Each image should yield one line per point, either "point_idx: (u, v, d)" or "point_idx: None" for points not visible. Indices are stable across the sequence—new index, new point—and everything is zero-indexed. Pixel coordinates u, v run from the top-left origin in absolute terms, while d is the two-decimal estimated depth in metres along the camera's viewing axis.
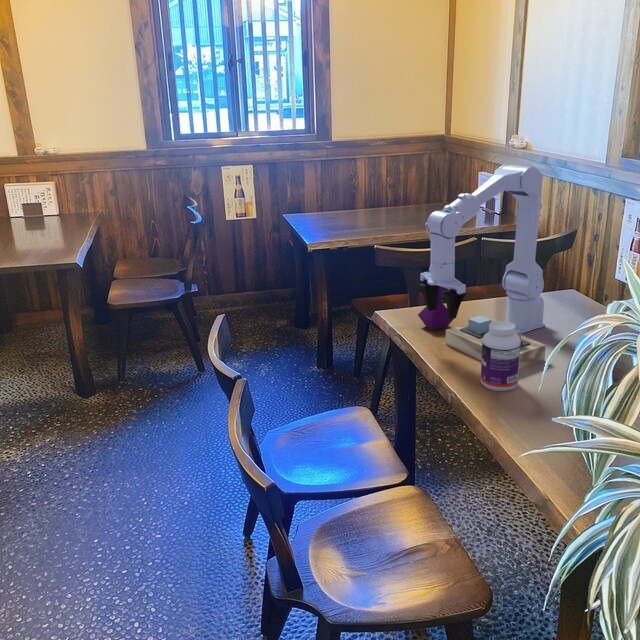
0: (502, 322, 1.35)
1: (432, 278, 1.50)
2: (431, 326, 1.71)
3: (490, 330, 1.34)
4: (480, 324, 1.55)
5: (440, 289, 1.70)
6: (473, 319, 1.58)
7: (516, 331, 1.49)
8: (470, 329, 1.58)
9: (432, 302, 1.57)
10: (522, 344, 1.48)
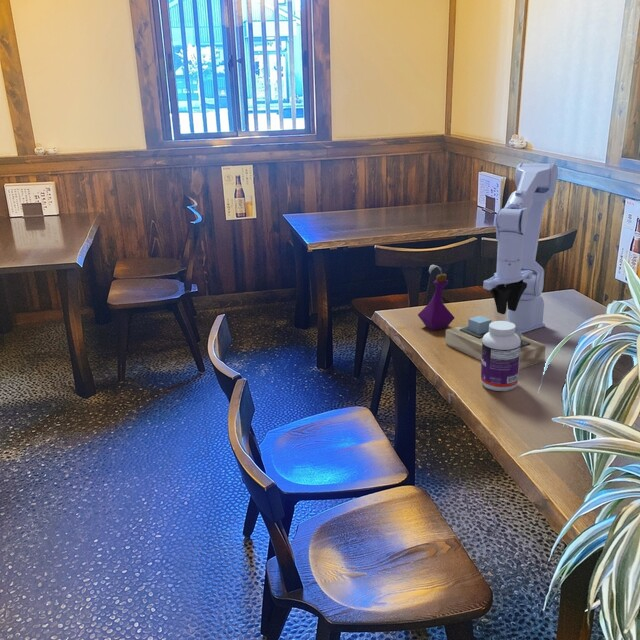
0: (502, 322, 1.35)
1: None
2: (431, 326, 1.71)
3: (490, 330, 1.34)
4: (480, 324, 1.55)
5: (440, 289, 1.70)
6: (473, 319, 1.58)
7: (516, 331, 1.49)
8: (470, 329, 1.58)
9: (511, 302, 1.54)
10: (522, 344, 1.48)
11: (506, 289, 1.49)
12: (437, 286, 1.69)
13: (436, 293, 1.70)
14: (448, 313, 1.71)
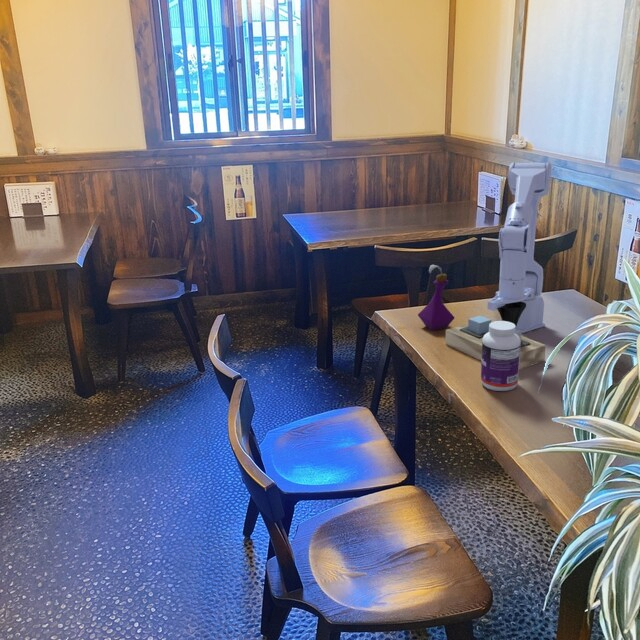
0: (502, 322, 1.35)
1: None
2: (431, 326, 1.71)
3: (490, 330, 1.34)
4: (480, 324, 1.55)
5: (440, 289, 1.70)
6: (473, 319, 1.58)
7: (516, 331, 1.49)
8: (470, 329, 1.58)
9: None
10: (522, 344, 1.48)
11: (515, 307, 1.45)
12: (437, 286, 1.69)
13: (436, 293, 1.70)
14: (448, 313, 1.71)
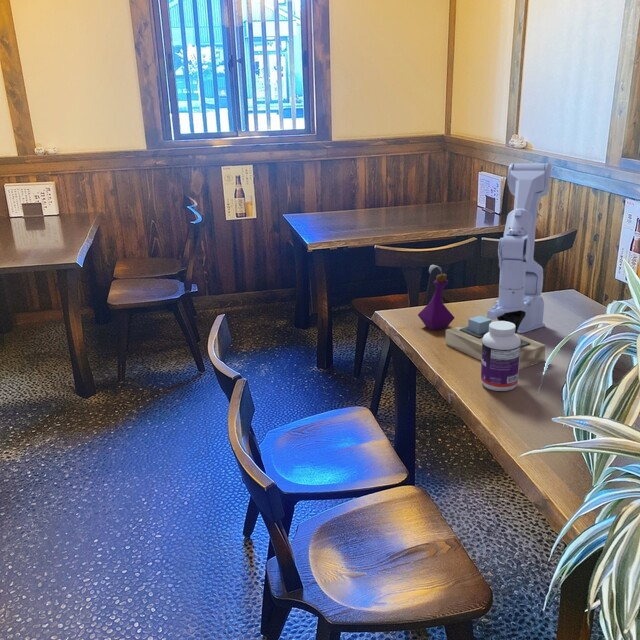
0: (502, 322, 1.35)
1: None
2: (431, 326, 1.71)
3: (490, 330, 1.34)
4: (480, 324, 1.55)
5: (440, 289, 1.70)
6: (473, 319, 1.58)
7: None
8: (470, 329, 1.58)
9: None
10: (522, 344, 1.48)
11: (514, 316, 1.45)
12: (437, 286, 1.69)
13: (436, 293, 1.70)
14: (448, 313, 1.71)
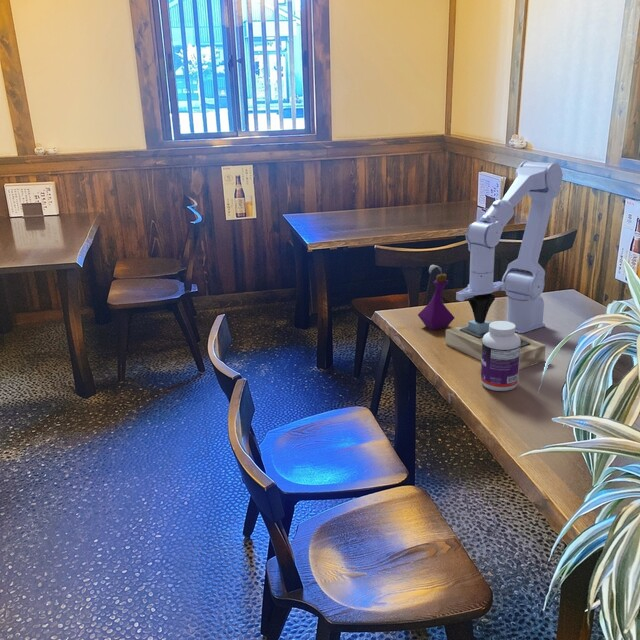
0: (502, 322, 1.35)
1: None
2: (431, 326, 1.71)
3: (490, 330, 1.34)
4: (480, 327, 1.55)
5: (440, 289, 1.70)
6: (473, 322, 1.58)
7: None
8: None
9: None
10: (522, 344, 1.48)
11: (483, 299, 1.53)
12: (437, 286, 1.69)
13: (436, 293, 1.70)
14: (448, 313, 1.71)
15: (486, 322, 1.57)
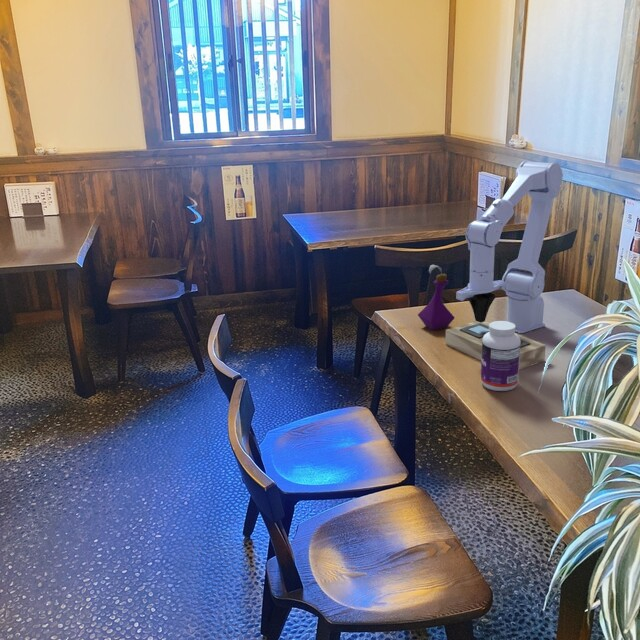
0: (502, 322, 1.35)
1: None
2: (431, 326, 1.71)
3: (490, 330, 1.34)
4: None
5: (440, 289, 1.70)
6: (473, 329, 1.59)
7: None
8: None
9: None
10: (522, 344, 1.48)
11: (483, 298, 1.53)
12: (437, 286, 1.69)
13: (436, 293, 1.70)
14: (448, 313, 1.71)
15: (486, 330, 1.58)
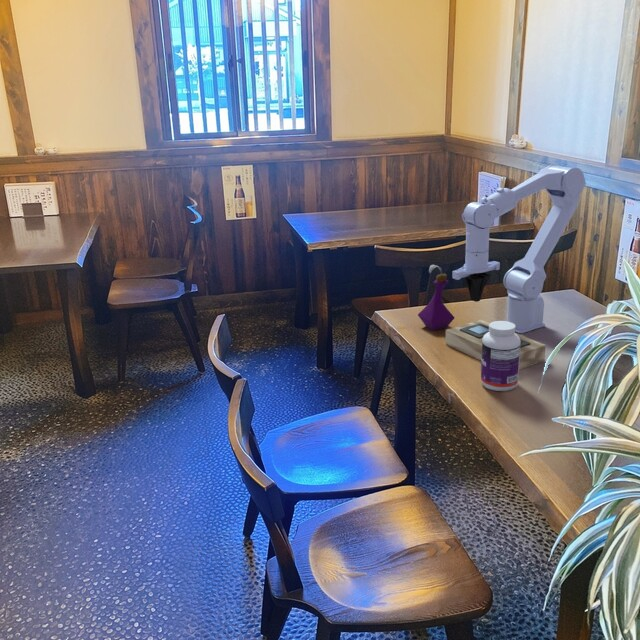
0: (502, 322, 1.35)
1: None
2: (431, 326, 1.71)
3: (490, 330, 1.34)
4: None
5: (440, 289, 1.70)
6: (473, 329, 1.59)
7: None
8: None
9: None
10: (522, 344, 1.48)
11: (478, 278, 1.58)
12: (437, 286, 1.69)
13: (436, 293, 1.70)
14: (448, 313, 1.71)
15: (486, 330, 1.58)
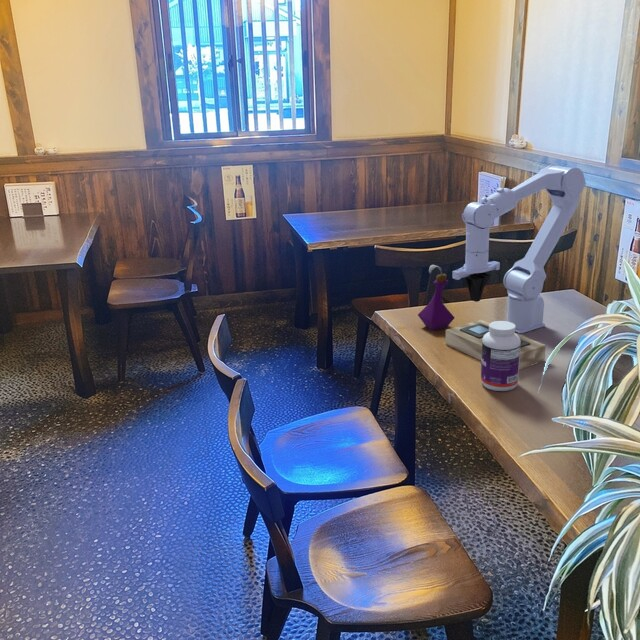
0: (502, 322, 1.35)
1: None
2: (431, 326, 1.71)
3: (490, 330, 1.34)
4: None
5: (440, 289, 1.70)
6: (473, 329, 1.59)
7: None
8: None
9: None
10: (522, 344, 1.48)
11: (478, 278, 1.58)
12: (437, 286, 1.69)
13: (436, 293, 1.70)
14: (448, 313, 1.71)
15: (486, 330, 1.58)
